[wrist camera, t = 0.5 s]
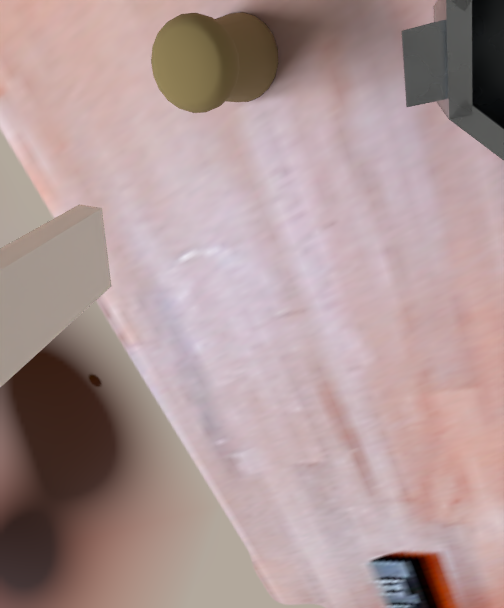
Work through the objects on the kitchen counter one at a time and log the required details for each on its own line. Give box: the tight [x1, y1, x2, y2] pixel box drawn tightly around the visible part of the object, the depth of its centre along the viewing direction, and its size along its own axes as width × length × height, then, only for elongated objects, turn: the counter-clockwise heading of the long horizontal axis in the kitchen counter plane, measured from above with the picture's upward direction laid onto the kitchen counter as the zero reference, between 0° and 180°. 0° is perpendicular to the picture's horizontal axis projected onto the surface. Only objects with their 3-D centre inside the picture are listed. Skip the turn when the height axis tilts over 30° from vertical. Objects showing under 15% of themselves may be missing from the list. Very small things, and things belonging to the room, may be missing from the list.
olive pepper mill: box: [151, 12, 278, 113], centre depth 30 cm, size 6×6×11 cm
